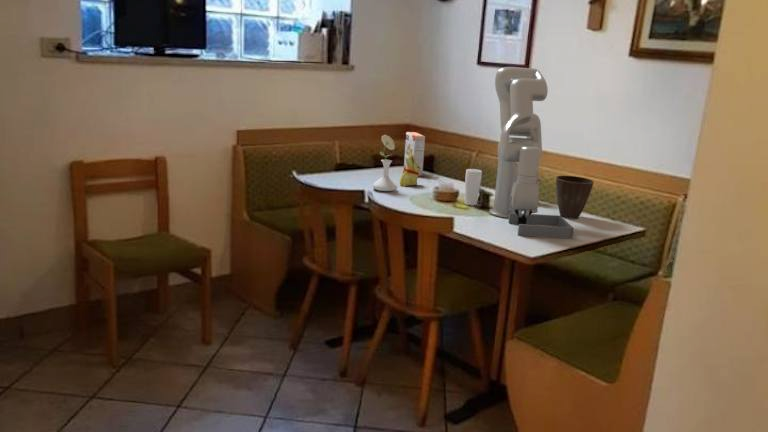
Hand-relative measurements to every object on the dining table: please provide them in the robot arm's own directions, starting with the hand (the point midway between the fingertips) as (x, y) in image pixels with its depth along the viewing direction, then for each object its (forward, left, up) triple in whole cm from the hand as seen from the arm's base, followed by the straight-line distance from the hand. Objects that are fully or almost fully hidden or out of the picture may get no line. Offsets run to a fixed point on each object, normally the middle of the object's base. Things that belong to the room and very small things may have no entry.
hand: (521, 226), depth 251 cm
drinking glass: (+14, -36, -1) cm, 39 cm away
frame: (-7, 0, -1) cm, 7 cm away
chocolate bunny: (+39, -70, -1) cm, 80 cm away
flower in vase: (+51, -55, -1) cm, 75 cm away
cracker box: (+35, -99, -1) cm, 105 cm away
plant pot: (-26, -25, -1) cm, 36 cm away
